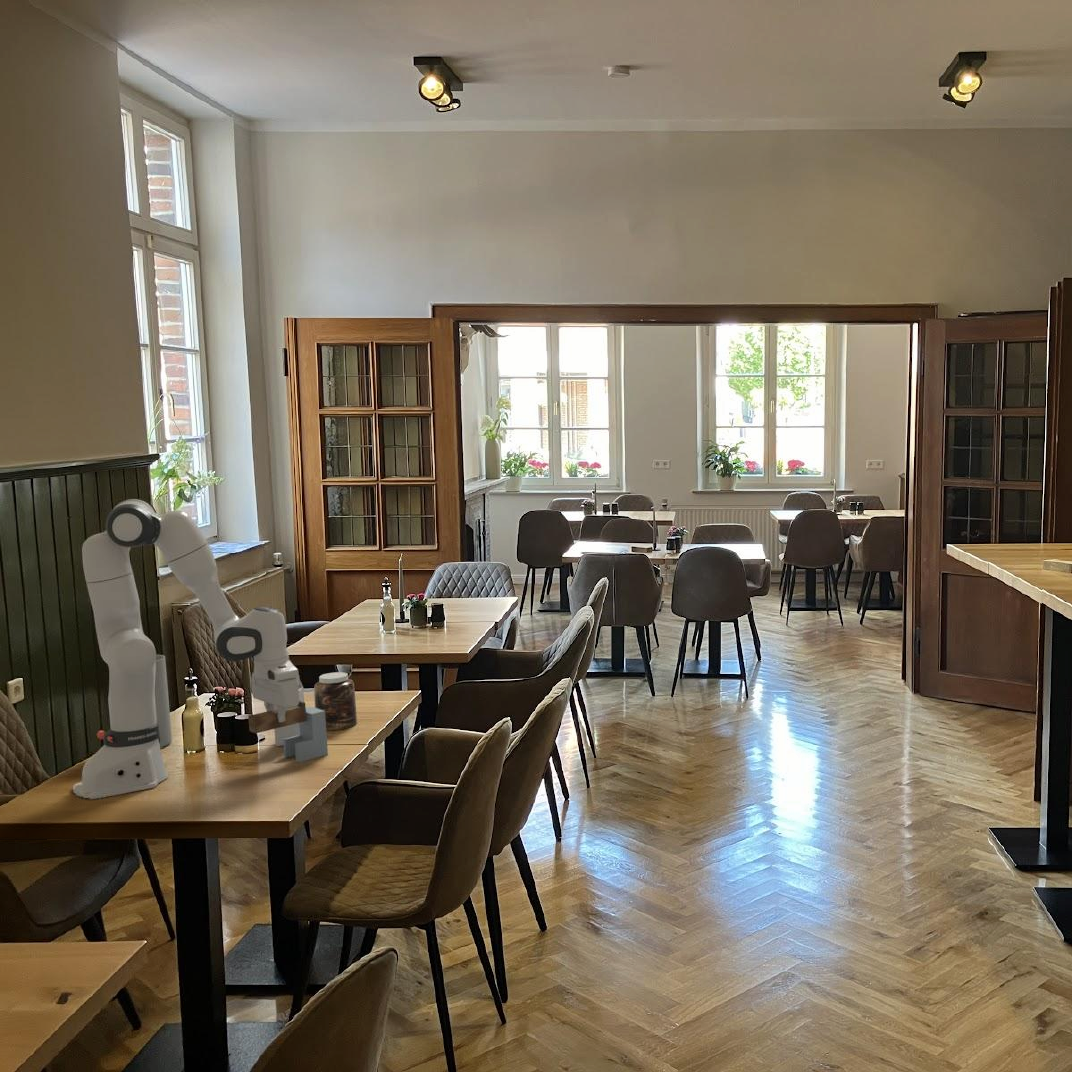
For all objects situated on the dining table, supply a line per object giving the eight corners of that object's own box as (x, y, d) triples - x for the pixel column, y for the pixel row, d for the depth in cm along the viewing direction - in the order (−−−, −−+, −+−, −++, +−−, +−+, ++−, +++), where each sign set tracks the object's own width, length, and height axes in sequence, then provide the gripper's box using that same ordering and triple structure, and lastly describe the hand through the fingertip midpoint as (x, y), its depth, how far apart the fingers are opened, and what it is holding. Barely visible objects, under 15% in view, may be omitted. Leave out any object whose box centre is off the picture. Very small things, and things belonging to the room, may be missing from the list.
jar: (322, 720, 323) (318, 671, 321) (360, 719, 322) (357, 670, 321) (312, 731, 311) (308, 680, 309) (352, 730, 310) (348, 679, 309)
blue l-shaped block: (297, 762, 281) (294, 718, 280) (284, 757, 287) (281, 713, 285) (327, 754, 287) (324, 711, 286) (314, 749, 292) (311, 706, 291)
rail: (255, 733, 275) (254, 714, 274) (249, 730, 278) (247, 712, 277) (306, 720, 284) (305, 702, 284) (300, 718, 287) (298, 700, 286)
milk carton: (300, 745, 297) (296, 678, 295) (275, 746, 297) (270, 679, 295) (306, 738, 304) (302, 672, 302) (282, 739, 304) (277, 673, 302)
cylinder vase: (123, 744, 307) (115, 658, 305) (168, 736, 313) (161, 652, 310) (128, 754, 296) (120, 666, 294) (175, 746, 302) (168, 659, 299)
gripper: (243, 665, 285) (247, 715, 286) (279, 675, 269) (283, 729, 271) (265, 660, 289) (269, 710, 290) (301, 671, 273) (305, 723, 275)
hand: (276, 719), depth 280 cm, fingers closed on rail, 4 cm apart
